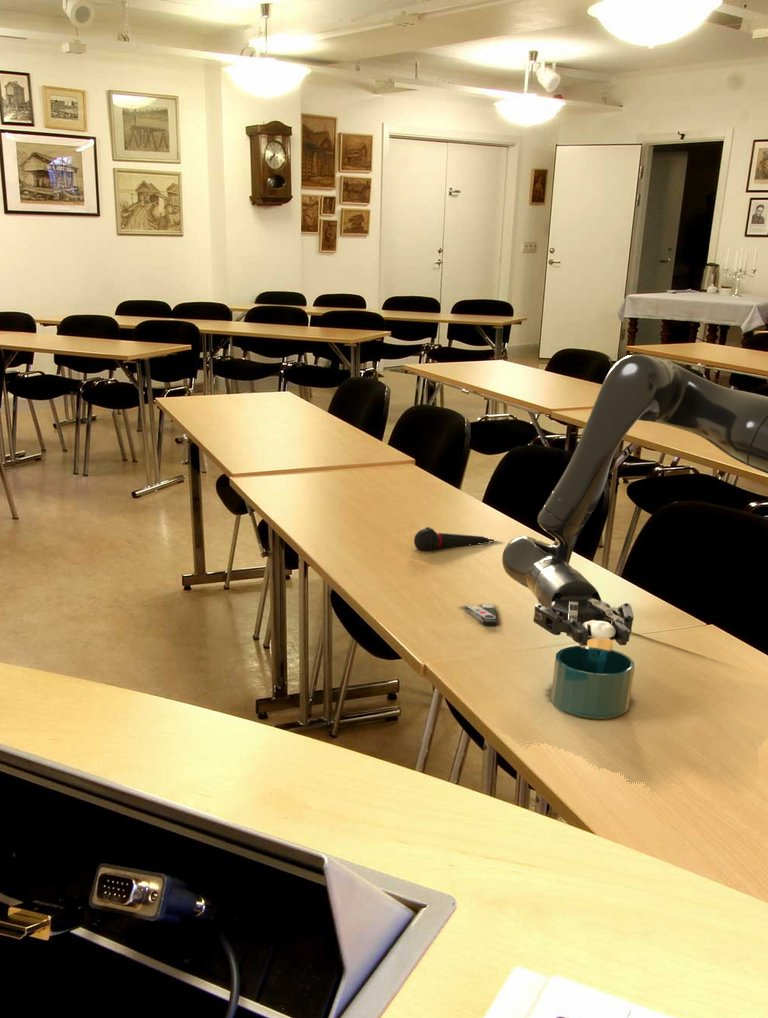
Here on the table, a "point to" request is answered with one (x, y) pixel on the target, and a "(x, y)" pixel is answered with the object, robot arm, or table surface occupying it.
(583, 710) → the bowl
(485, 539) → the microphone
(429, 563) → the table surface
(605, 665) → the milkshake
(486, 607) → the usb flash drive
